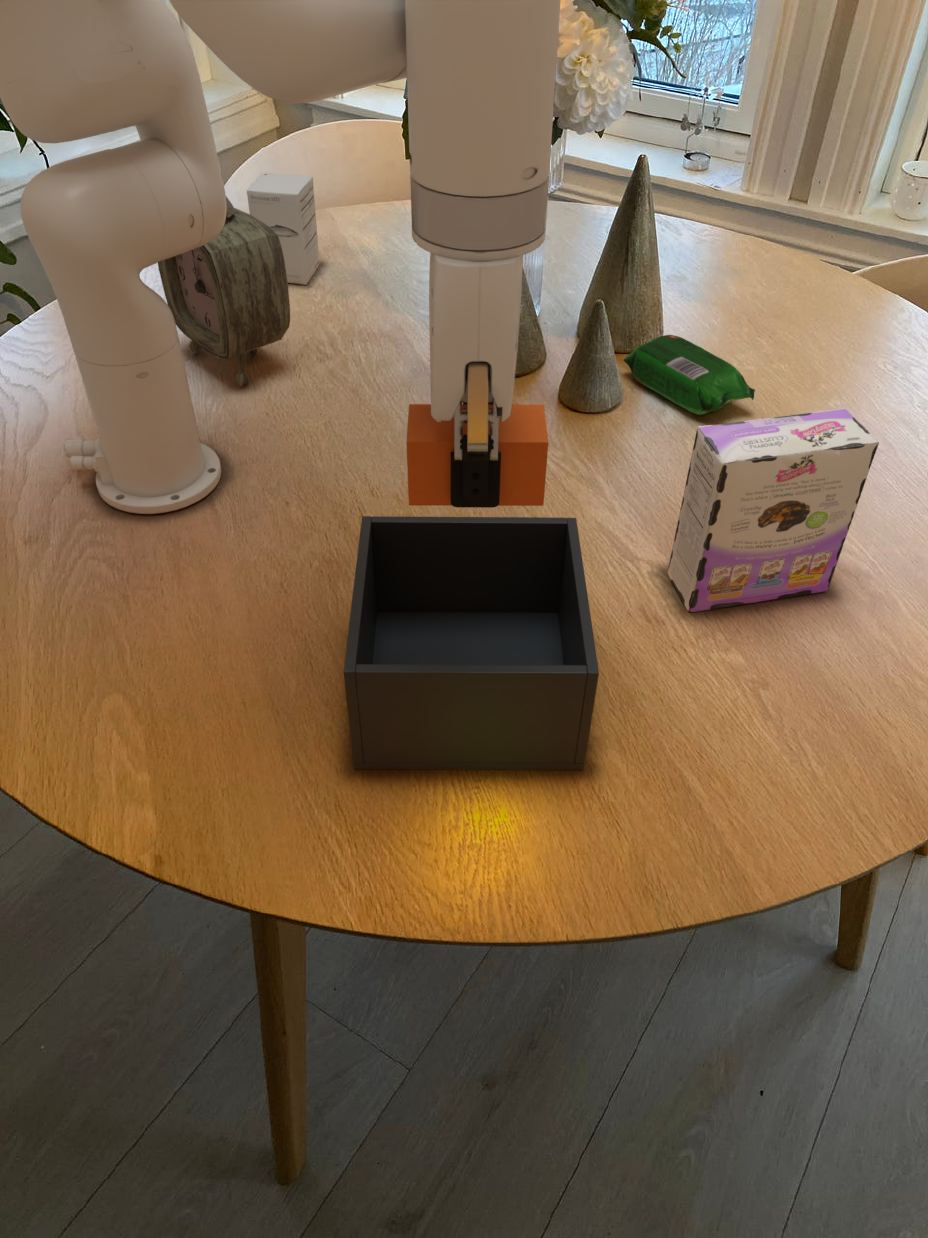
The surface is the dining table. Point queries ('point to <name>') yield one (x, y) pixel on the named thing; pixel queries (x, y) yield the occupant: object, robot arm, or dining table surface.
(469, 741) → the open box bin
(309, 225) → the white packaging box
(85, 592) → the dining table surface
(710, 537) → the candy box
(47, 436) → the dining table surface
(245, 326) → the tabletop clock
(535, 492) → the orange rectangular block
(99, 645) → the dining table surface
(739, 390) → the snack package
